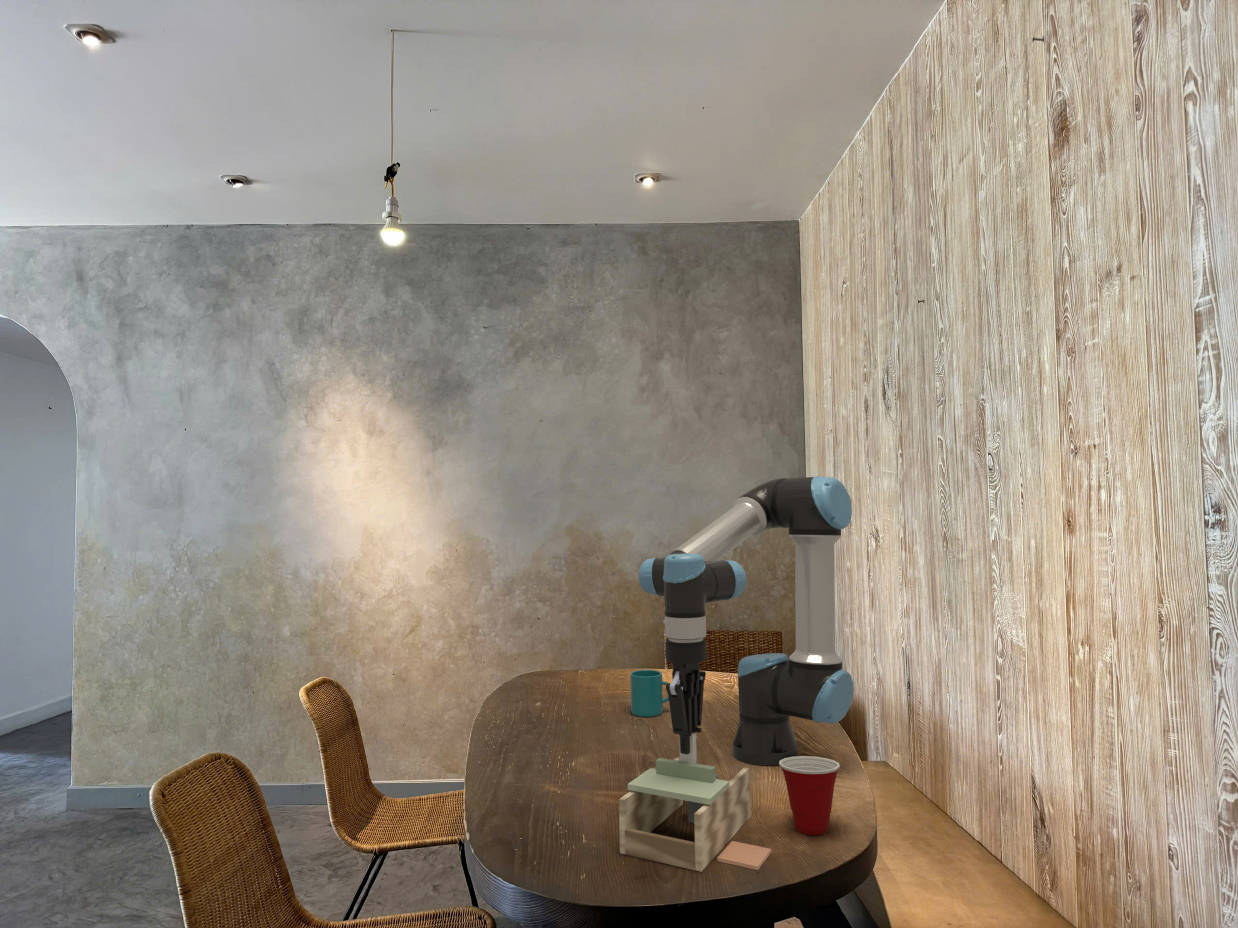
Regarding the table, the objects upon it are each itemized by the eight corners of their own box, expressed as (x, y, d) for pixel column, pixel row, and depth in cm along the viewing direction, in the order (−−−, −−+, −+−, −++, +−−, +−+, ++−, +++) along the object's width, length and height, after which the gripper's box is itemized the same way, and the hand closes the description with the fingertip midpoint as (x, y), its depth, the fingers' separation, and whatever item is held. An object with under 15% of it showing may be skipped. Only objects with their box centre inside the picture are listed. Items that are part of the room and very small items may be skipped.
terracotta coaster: (732, 844, 133) (732, 840, 134) (771, 852, 130) (771, 848, 130) (717, 861, 127) (717, 857, 127) (757, 870, 124) (757, 866, 124)
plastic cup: (834, 815, 145) (832, 751, 145) (849, 841, 134) (846, 771, 134) (776, 815, 145) (774, 751, 146) (786, 841, 134) (784, 771, 135)
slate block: (697, 813, 147) (696, 770, 148) (719, 817, 145) (718, 774, 145) (687, 821, 143) (686, 778, 144) (710, 826, 141) (709, 782, 141)
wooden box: (678, 803, 152) (677, 756, 153) (750, 816, 145) (749, 768, 145) (619, 852, 131) (618, 799, 132) (701, 871, 124) (699, 814, 124)
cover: (650, 773, 143) (650, 754, 143) (729, 786, 135) (729, 767, 136) (627, 789, 135) (627, 769, 135) (710, 804, 128) (709, 783, 128)
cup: (674, 717, 213) (673, 676, 213) (631, 717, 213) (630, 676, 213) (672, 708, 222) (671, 669, 222) (631, 709, 222) (630, 669, 222)
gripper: (681, 631, 148) (684, 756, 147) (651, 643, 137) (654, 778, 135) (717, 634, 144) (721, 761, 143) (690, 646, 133) (693, 784, 132)
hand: (688, 769), depth 139 cm, fingers closed
